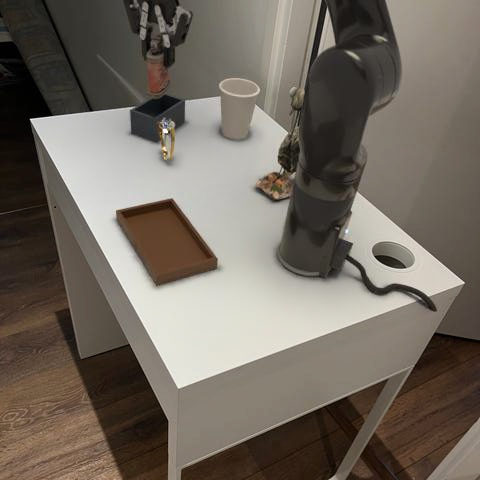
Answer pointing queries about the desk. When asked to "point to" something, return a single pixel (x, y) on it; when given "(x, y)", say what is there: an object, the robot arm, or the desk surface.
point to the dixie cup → (237, 106)
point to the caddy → (156, 116)
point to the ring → (167, 137)
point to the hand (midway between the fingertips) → (158, 62)
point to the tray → (166, 241)
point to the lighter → (157, 68)
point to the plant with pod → (285, 158)
